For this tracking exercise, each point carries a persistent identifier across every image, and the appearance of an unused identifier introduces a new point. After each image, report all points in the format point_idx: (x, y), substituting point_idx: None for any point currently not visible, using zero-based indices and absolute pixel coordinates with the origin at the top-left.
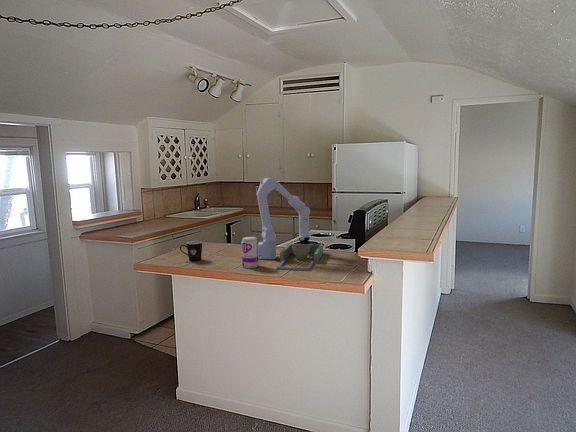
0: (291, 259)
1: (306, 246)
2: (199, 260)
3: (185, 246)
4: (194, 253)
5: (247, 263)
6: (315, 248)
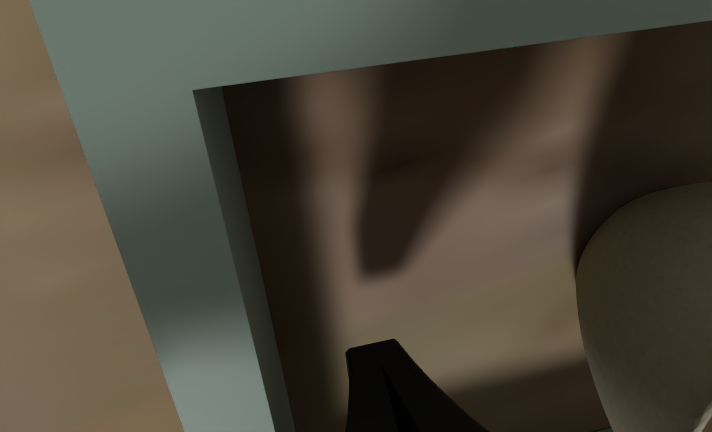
0: None
1: (697, 349)
2: None
3: None
4: None
5: None
6: (233, 196)
